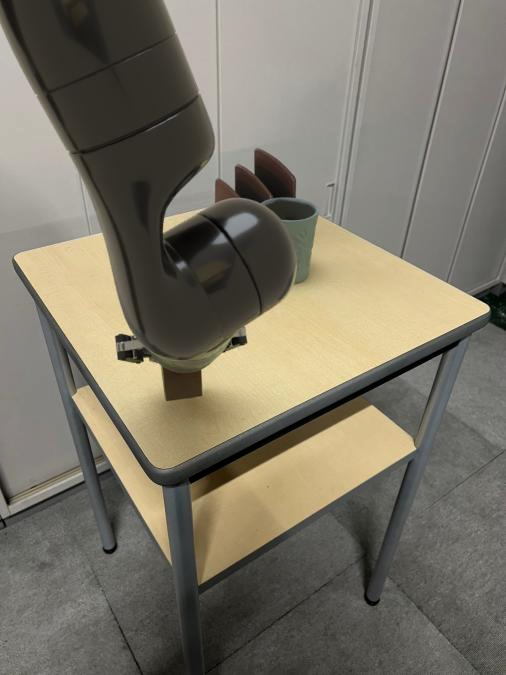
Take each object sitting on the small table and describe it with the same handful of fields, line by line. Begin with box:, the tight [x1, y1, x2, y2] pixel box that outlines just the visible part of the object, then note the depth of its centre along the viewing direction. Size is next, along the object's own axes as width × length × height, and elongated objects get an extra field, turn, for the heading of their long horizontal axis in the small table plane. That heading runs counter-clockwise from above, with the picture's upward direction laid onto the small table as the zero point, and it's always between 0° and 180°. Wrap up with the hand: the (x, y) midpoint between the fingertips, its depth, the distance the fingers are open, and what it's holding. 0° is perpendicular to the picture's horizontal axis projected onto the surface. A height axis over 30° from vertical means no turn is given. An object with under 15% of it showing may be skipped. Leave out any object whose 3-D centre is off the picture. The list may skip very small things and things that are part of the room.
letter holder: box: [214, 147, 297, 204], centre depth 102 cm, size 10×20×14 cm, turn 22°
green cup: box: [261, 197, 320, 285], centre depth 89 cm, size 10×10×12 cm
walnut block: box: [160, 365, 203, 402], centre depth 61 cm, size 4×4×8 cm
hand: (177, 351), depth 63 cm, fingers closed on walnut block, 4 cm apart
